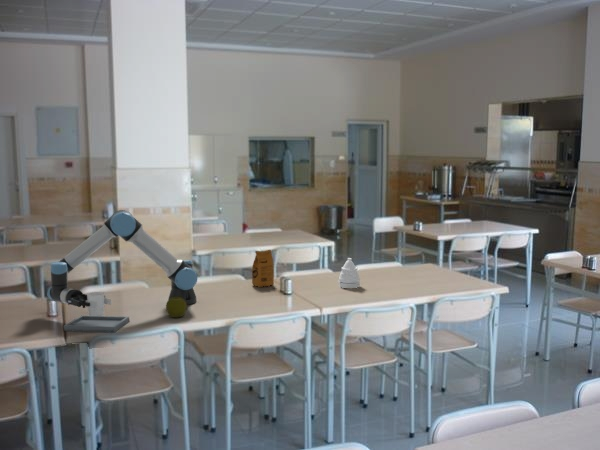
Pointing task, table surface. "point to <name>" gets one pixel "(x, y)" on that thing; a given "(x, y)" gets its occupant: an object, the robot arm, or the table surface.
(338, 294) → the table surface
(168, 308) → the apple
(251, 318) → the table surface
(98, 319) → the tray
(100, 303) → the white cup
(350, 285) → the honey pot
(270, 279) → the coffee package
